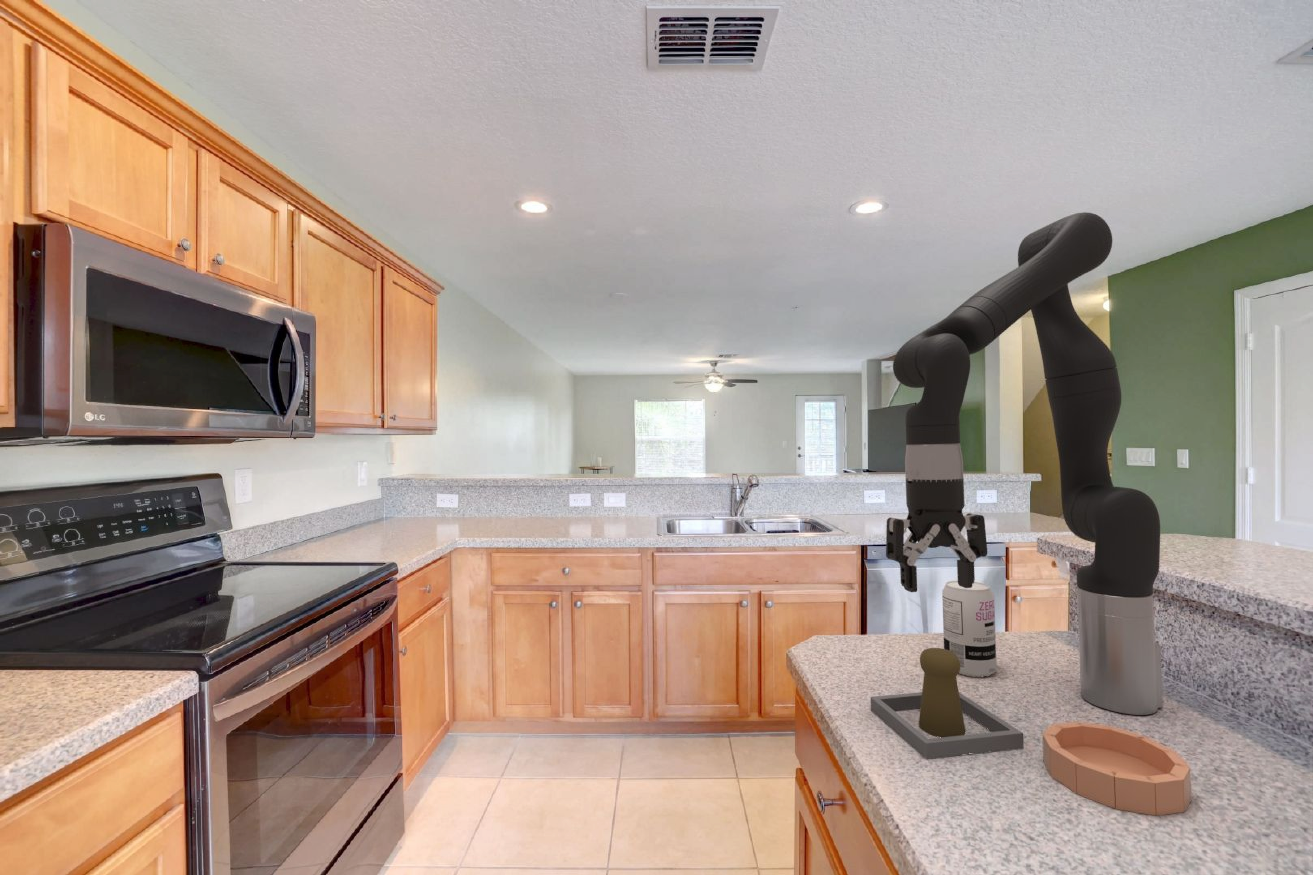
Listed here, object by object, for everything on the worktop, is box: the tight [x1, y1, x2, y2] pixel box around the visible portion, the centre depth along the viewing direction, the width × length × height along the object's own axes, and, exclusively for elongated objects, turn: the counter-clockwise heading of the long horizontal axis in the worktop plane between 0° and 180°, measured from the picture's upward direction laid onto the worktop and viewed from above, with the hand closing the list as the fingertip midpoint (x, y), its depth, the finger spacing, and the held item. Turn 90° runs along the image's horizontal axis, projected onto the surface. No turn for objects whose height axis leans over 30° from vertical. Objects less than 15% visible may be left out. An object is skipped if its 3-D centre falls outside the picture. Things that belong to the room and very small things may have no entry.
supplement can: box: [941, 580, 998, 678], centre depth 102 cm, size 8×8×15 cm
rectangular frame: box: [870, 691, 1025, 760], centre depth 82 cm, size 14×14×2 cm
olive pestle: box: [918, 647, 967, 738], centre depth 82 cm, size 6×6×11 cm
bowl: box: [1042, 721, 1192, 817], centre depth 69 cm, size 13×13×4 cm
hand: (937, 588), depth 82 cm, fingers open, 8 cm apart
